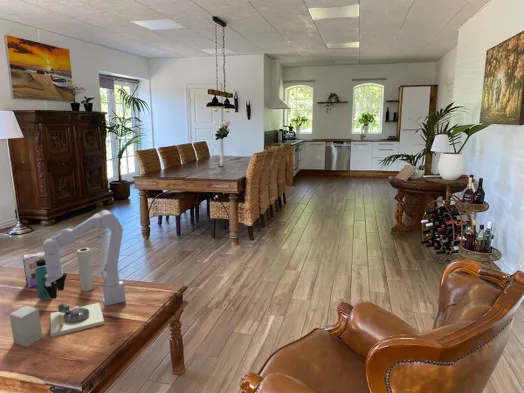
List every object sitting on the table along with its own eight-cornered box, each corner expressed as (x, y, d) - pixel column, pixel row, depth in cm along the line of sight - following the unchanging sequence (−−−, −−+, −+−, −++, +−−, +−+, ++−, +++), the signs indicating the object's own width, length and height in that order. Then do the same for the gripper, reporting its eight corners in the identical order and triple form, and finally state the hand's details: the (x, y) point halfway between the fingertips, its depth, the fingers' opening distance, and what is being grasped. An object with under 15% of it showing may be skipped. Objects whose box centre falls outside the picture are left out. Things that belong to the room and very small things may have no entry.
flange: (94, 312, 168) (93, 303, 167) (77, 324, 159) (76, 315, 158) (69, 308, 172) (68, 299, 171) (51, 319, 163) (50, 310, 162)
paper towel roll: (88, 292, 191) (84, 252, 186) (78, 290, 193) (73, 250, 188) (98, 286, 198) (94, 247, 193) (88, 284, 199) (84, 246, 195)
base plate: (99, 305, 178) (98, 292, 176) (104, 324, 162) (102, 310, 161) (51, 316, 168) (49, 302, 167) (51, 336, 153) (49, 322, 152)
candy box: (26, 288, 195) (22, 258, 192) (27, 283, 200) (23, 254, 197) (56, 282, 201) (53, 253, 198) (56, 278, 206) (53, 250, 203)
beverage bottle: (35, 301, 182) (29, 262, 178) (47, 295, 188) (42, 257, 184) (44, 303, 180) (39, 264, 175) (57, 297, 186) (52, 259, 181)
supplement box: (43, 337, 153) (39, 308, 150) (25, 347, 146) (21, 317, 143) (31, 333, 156) (26, 305, 153) (13, 342, 149) (8, 313, 146)
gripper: (51, 259, 172) (55, 287, 175) (35, 272, 158) (40, 302, 161) (67, 258, 173) (71, 286, 176) (53, 272, 159) (57, 301, 162)
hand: (57, 294), depth 169 cm, fingers open, 7 cm apart
